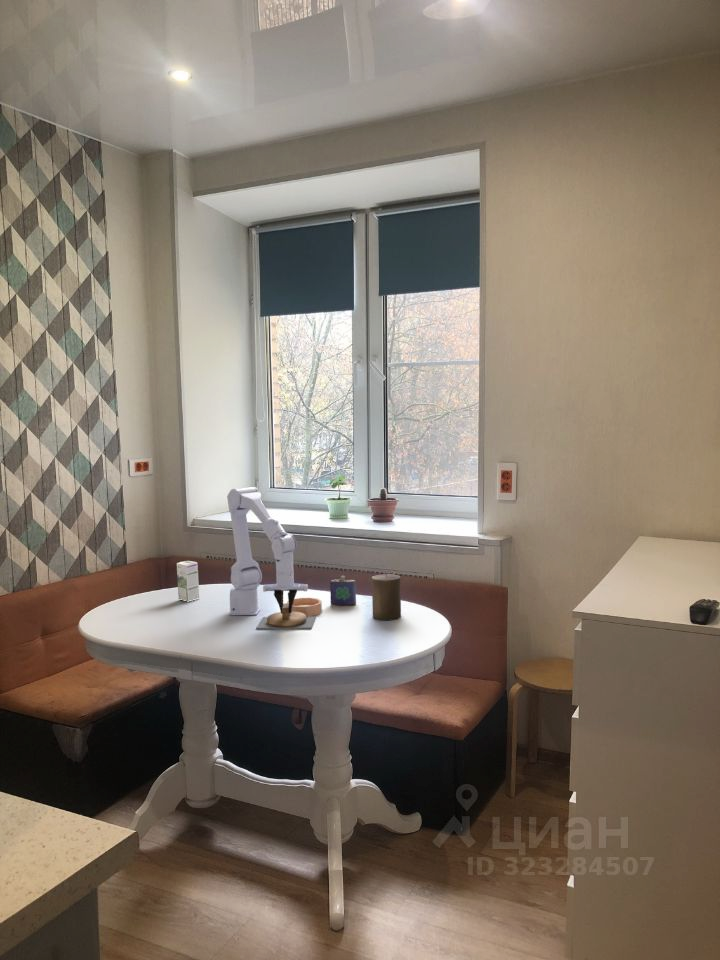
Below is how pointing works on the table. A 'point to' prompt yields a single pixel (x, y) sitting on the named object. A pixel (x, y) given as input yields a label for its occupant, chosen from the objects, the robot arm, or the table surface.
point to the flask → (343, 592)
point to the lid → (286, 617)
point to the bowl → (307, 606)
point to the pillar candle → (386, 596)
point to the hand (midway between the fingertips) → (286, 612)
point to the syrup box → (188, 580)
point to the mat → (306, 625)
